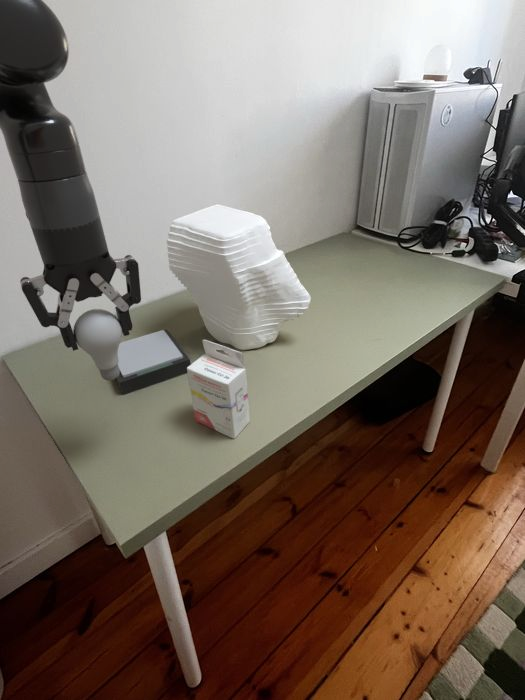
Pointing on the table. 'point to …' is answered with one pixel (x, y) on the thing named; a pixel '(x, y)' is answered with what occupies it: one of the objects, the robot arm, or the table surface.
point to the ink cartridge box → (220, 390)
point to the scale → (150, 361)
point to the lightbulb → (100, 340)
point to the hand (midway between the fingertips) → (100, 339)
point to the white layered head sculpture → (235, 275)
